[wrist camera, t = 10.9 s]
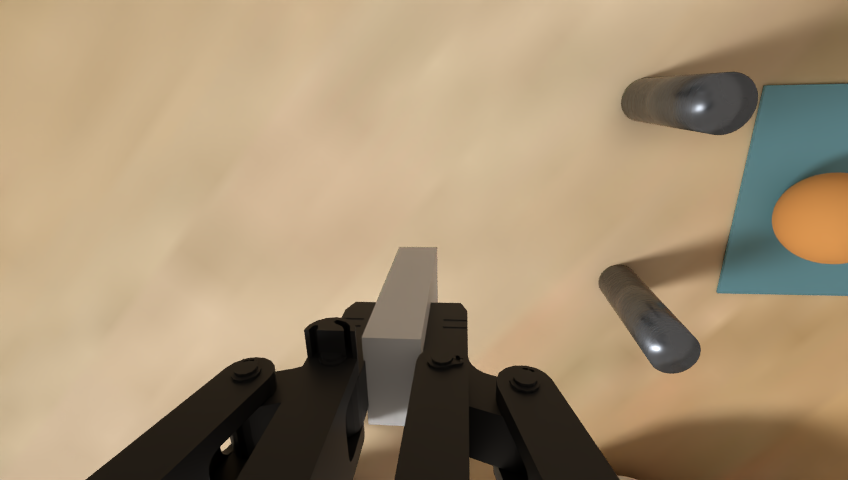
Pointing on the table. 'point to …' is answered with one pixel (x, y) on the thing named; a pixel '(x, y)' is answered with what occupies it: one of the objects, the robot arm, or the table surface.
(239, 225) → the table surface
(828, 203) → the ball
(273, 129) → the table surface
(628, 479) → the sculpture
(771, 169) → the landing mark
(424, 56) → the table surface
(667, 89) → the post
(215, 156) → the table surface
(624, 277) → the post
